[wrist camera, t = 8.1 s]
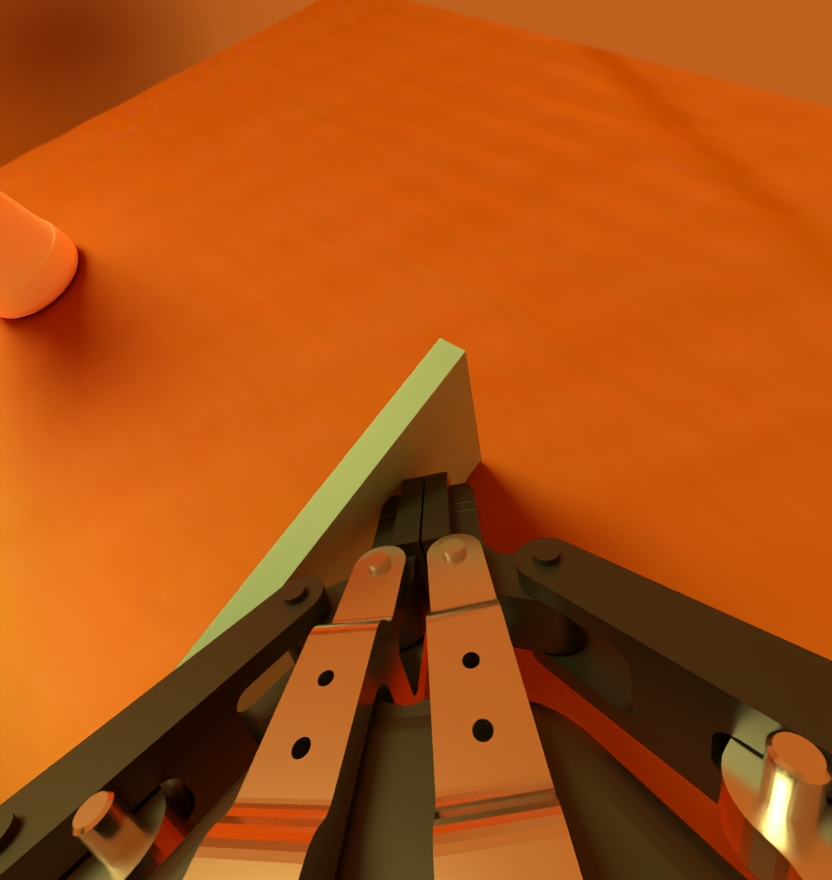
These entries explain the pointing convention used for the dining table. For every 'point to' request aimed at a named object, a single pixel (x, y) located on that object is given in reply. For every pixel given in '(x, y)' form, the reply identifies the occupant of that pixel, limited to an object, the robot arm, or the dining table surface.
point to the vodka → (31, 261)
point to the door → (365, 491)
